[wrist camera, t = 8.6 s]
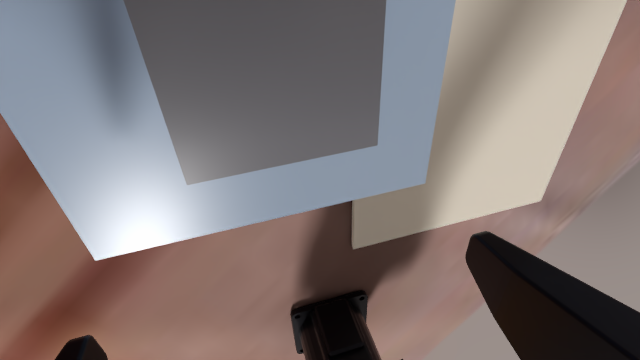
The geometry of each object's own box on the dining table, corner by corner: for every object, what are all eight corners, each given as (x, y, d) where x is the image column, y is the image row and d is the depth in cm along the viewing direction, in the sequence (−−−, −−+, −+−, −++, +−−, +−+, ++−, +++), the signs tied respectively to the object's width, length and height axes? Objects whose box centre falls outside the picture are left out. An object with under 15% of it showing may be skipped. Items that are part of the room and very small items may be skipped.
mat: (537, 197, 32) (540, 200, 31) (351, 245, 29) (353, 249, 28) (664, -107, 19) (673, -107, 19) (355, -79, 16) (359, -78, 16)
